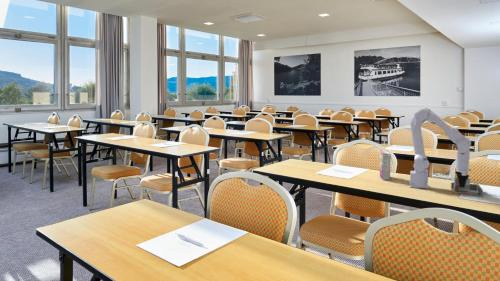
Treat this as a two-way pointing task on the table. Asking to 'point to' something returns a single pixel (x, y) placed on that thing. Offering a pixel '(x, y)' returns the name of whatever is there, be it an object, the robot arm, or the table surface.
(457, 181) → the blue block
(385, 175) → the candy bar box
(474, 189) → the tray
